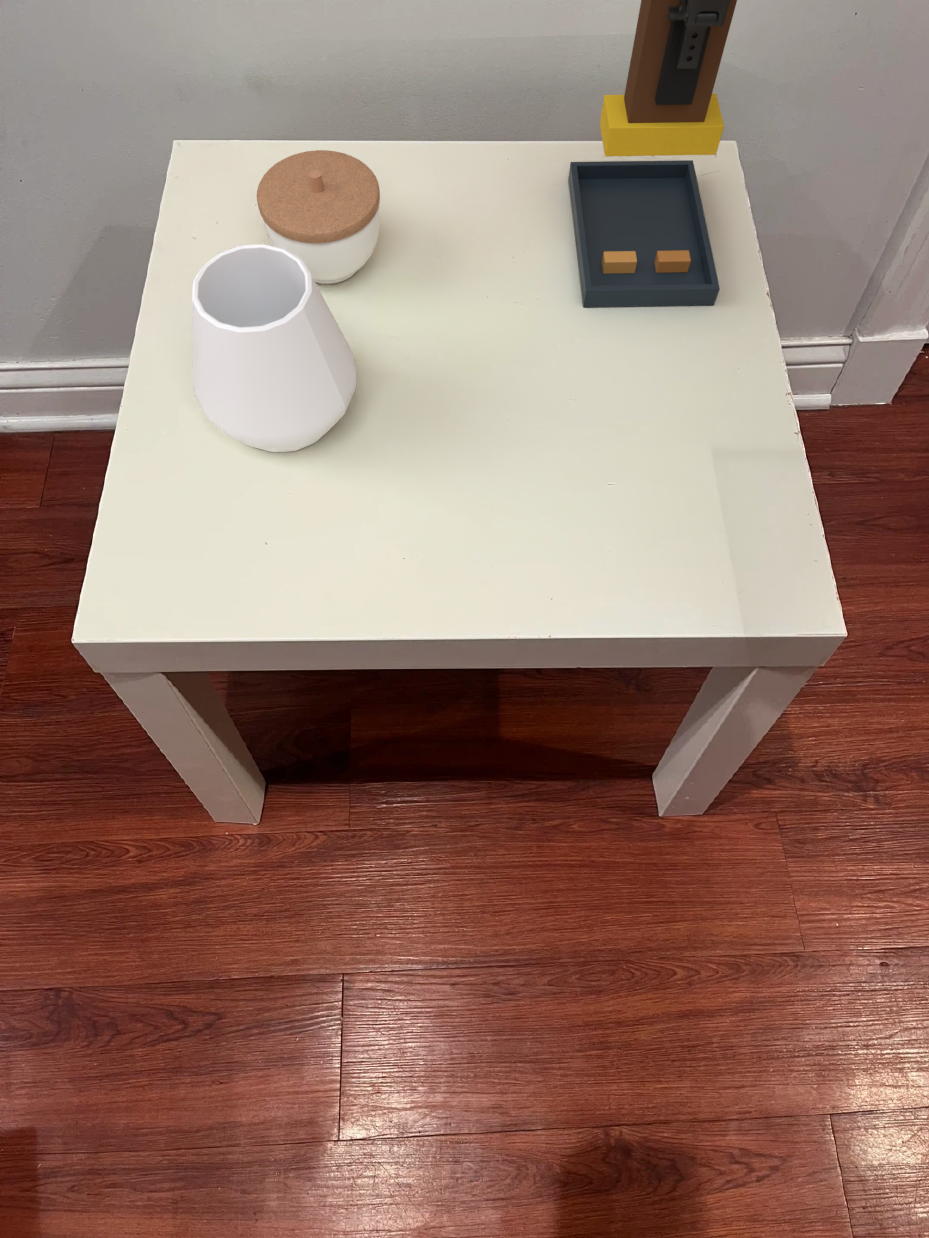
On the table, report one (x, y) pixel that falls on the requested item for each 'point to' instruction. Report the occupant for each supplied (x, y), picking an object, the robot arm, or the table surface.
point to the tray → (641, 232)
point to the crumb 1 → (619, 262)
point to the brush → (635, 115)
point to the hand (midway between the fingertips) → (670, 85)
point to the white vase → (267, 350)
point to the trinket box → (322, 211)
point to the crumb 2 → (672, 261)
